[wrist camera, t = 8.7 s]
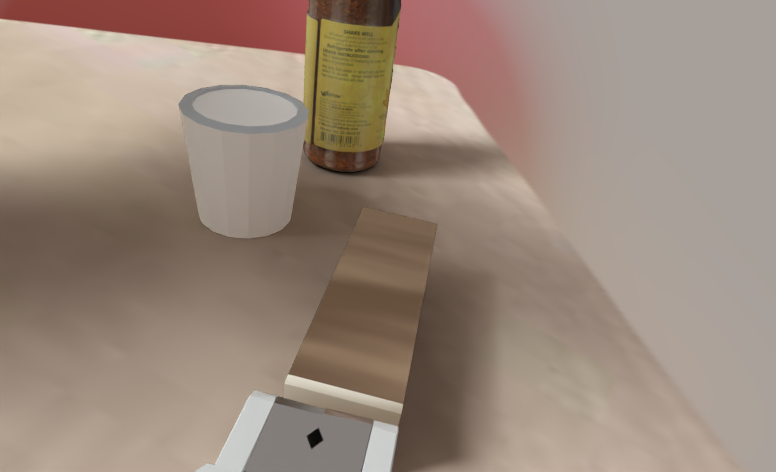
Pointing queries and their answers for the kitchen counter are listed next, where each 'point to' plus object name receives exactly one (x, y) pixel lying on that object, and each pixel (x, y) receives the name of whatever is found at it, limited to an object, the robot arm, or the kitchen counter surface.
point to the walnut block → (367, 321)
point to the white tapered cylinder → (243, 156)
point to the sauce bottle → (348, 80)
